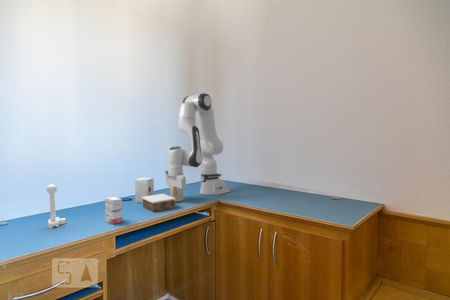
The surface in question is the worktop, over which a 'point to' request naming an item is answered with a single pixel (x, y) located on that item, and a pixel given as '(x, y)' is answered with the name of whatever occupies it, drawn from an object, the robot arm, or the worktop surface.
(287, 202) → the worktop surface
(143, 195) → the supplement box
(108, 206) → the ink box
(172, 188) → the carton
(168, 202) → the podium
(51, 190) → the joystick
